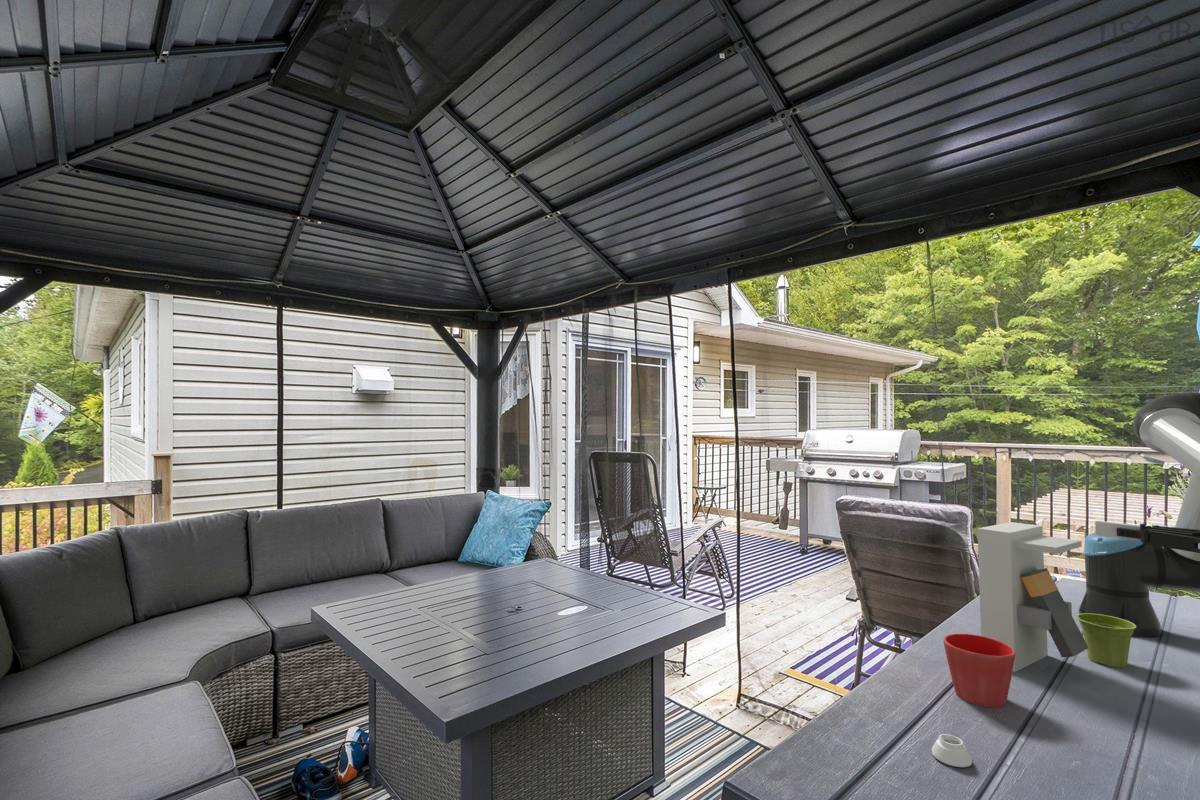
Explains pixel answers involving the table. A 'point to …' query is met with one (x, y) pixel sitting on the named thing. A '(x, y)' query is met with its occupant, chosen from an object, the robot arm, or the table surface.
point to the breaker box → (1015, 587)
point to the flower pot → (980, 668)
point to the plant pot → (1107, 638)
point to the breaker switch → (1055, 612)
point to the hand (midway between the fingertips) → (1097, 527)
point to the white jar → (951, 751)
